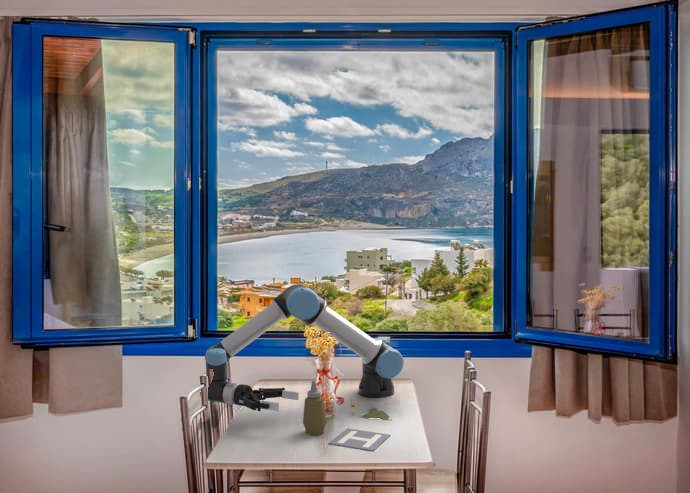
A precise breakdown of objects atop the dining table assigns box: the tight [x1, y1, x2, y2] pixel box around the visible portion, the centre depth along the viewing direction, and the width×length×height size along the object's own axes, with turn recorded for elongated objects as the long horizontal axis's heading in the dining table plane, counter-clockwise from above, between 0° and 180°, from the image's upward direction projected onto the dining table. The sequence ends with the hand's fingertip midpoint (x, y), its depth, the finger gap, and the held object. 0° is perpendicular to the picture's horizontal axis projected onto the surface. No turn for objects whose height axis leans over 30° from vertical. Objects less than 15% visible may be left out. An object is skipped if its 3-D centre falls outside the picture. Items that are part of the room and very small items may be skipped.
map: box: [361, 407, 392, 422], centre depth 222 cm, size 11×18×1 cm, turn 15°
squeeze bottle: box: [302, 380, 327, 436], centre depth 207 cm, size 8×8×18 cm
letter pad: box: [328, 427, 391, 452], centre depth 200 cm, size 15×16×1 cm
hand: (288, 401), depth 211 cm, fingers open, 13 cm apart
